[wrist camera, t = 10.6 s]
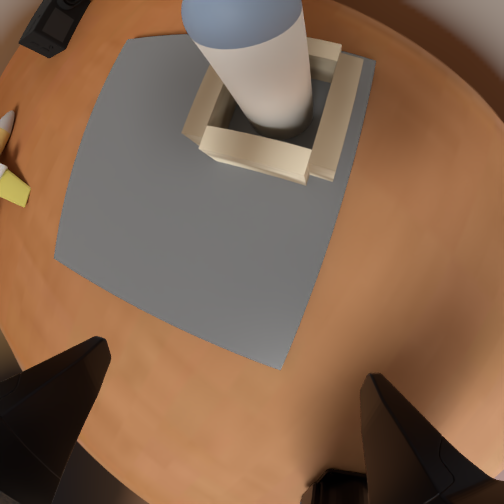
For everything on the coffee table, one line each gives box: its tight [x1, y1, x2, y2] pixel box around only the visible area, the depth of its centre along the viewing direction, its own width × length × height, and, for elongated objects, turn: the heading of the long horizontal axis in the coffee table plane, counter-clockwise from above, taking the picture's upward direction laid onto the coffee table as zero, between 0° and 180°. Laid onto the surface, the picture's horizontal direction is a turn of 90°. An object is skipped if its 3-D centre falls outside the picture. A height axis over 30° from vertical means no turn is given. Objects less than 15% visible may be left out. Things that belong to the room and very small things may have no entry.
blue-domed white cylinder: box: [181, 0, 313, 140], centre depth 11 cm, size 4×4×12 cm
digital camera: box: [19, 0, 91, 58], centre depth 20 cm, size 10×5×7 cm, turn 174°
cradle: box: [181, 37, 364, 186], centre depth 16 cm, size 9×9×3 cm
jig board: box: [54, 34, 376, 370], centre depth 19 cm, size 23×23×1 cm
